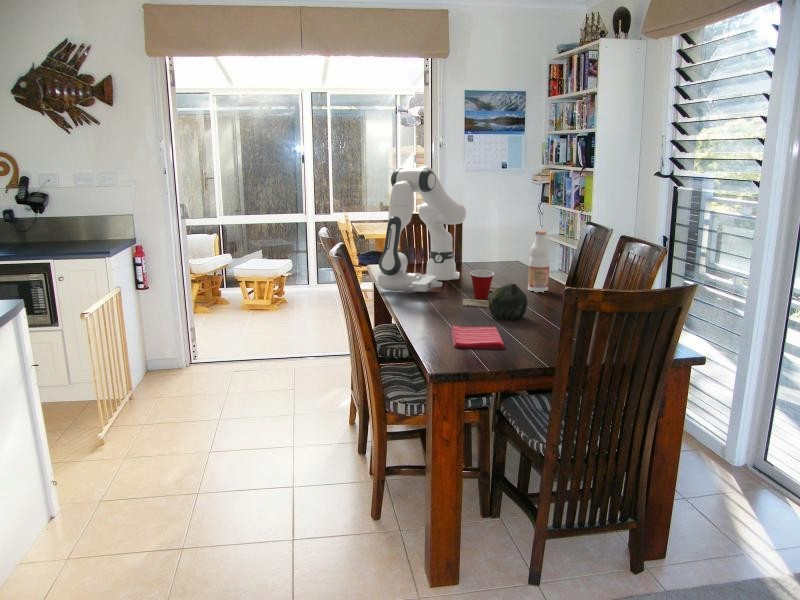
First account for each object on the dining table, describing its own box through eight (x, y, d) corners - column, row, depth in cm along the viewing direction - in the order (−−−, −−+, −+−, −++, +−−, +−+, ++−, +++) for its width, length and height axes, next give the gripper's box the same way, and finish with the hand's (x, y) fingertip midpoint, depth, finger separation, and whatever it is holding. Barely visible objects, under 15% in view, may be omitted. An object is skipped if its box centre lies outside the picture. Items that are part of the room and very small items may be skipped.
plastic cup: (469, 301, 281) (470, 274, 278) (468, 295, 292) (469, 269, 289) (494, 301, 281) (495, 274, 278) (492, 296, 291) (493, 270, 288)
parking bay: (476, 290, 303) (476, 285, 302) (516, 293, 297) (516, 287, 297) (462, 305, 274) (462, 299, 273) (506, 308, 268) (506, 302, 268)
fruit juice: (523, 290, 304) (526, 231, 297) (537, 287, 309) (540, 229, 302) (537, 293, 296) (541, 233, 290) (552, 291, 301) (555, 231, 295)
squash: (486, 298, 262) (491, 276, 249) (523, 300, 261) (530, 278, 249) (487, 327, 253) (492, 306, 241) (525, 329, 253) (532, 308, 241)
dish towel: (454, 350, 214) (454, 342, 213) (450, 330, 237) (450, 324, 236) (505, 350, 213) (505, 343, 213) (496, 331, 236) (497, 324, 236)
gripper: (405, 280, 285) (436, 282, 281) (418, 272, 304) (446, 273, 300) (405, 294, 286) (435, 296, 282) (418, 285, 305) (446, 287, 301)
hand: (441, 284), depth 291 cm, fingers closed
